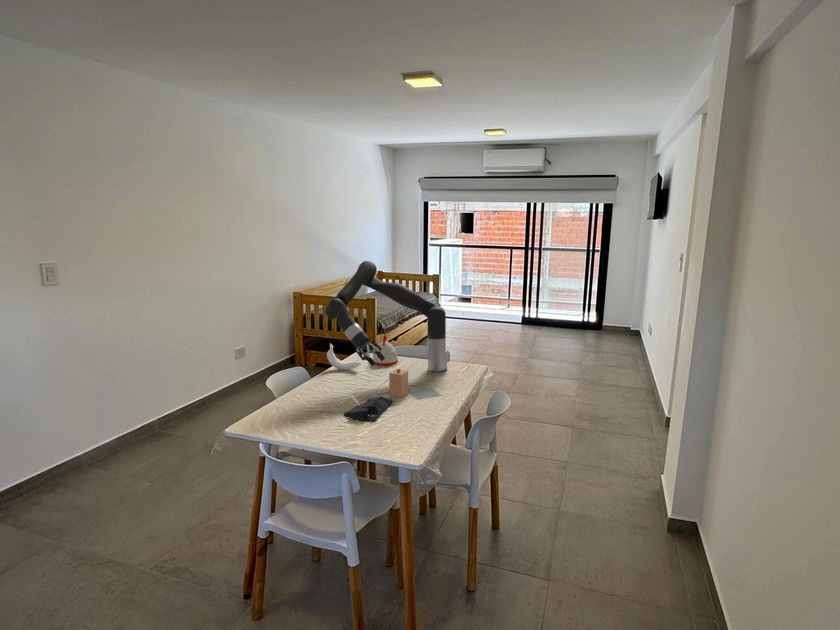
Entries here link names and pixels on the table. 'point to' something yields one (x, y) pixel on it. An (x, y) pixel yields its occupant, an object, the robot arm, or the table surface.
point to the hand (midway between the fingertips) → (379, 362)
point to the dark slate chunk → (369, 409)
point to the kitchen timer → (386, 354)
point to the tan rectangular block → (398, 382)
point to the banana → (341, 364)
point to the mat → (424, 393)
